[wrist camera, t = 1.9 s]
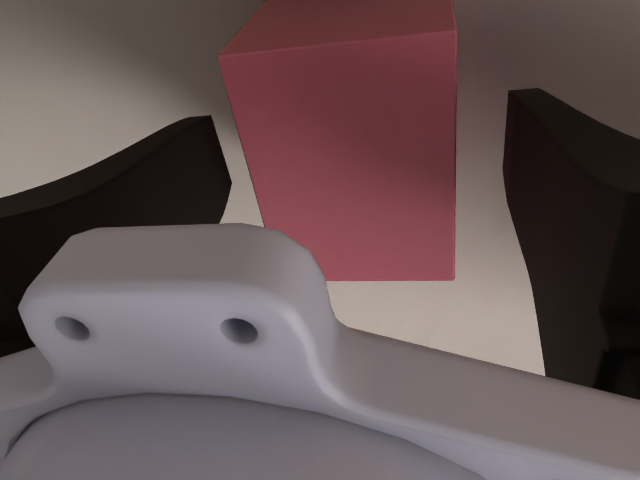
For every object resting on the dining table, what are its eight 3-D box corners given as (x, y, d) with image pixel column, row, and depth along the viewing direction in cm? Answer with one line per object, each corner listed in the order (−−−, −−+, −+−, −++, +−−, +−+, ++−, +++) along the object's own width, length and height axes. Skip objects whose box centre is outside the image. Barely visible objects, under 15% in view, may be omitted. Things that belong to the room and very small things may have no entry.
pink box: (447, 165, 17) (455, 281, 12) (313, 172, 18) (279, 282, 13) (446, -39, 13) (457, 29, 9) (278, -16, 14) (215, 56, 10)
